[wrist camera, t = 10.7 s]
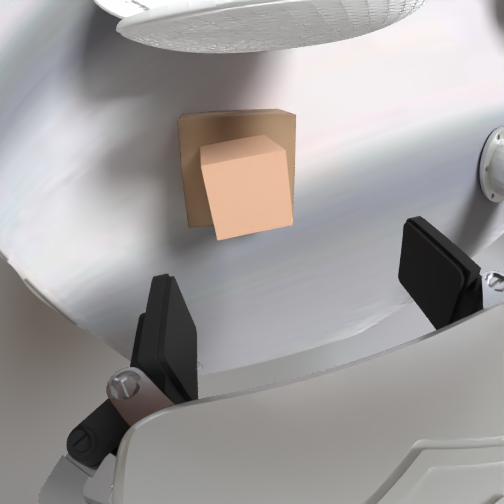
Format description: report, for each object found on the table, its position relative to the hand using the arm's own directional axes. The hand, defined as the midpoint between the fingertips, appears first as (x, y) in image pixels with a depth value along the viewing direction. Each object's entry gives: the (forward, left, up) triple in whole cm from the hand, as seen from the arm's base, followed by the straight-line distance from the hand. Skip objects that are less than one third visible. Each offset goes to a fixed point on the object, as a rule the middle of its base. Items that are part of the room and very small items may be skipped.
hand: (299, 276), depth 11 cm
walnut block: (+1, 0, -20) cm, 20 cm away
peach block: (+1, 0, -14) cm, 14 cm away
